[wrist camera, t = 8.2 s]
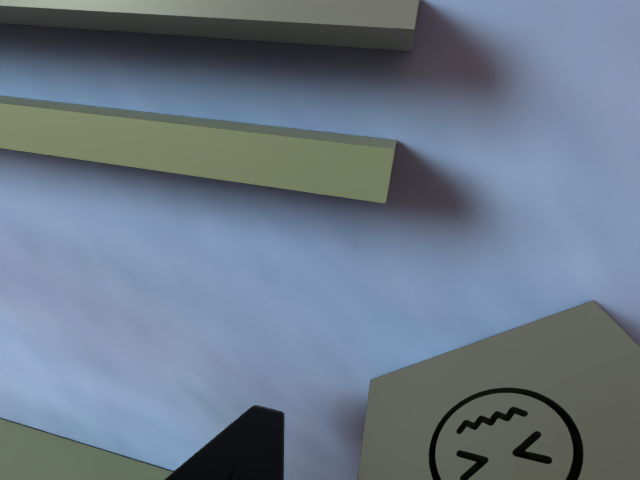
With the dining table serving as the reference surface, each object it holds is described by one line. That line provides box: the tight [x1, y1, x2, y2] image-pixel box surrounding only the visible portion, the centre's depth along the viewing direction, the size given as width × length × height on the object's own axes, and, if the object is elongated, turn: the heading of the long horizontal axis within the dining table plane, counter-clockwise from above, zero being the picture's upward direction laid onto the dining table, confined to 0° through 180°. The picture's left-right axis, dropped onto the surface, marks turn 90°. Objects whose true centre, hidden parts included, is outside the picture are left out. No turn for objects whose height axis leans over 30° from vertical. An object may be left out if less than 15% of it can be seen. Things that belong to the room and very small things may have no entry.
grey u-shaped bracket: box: [0, 96, 397, 480], centre depth 10 cm, size 12×18×2 cm, turn 85°
